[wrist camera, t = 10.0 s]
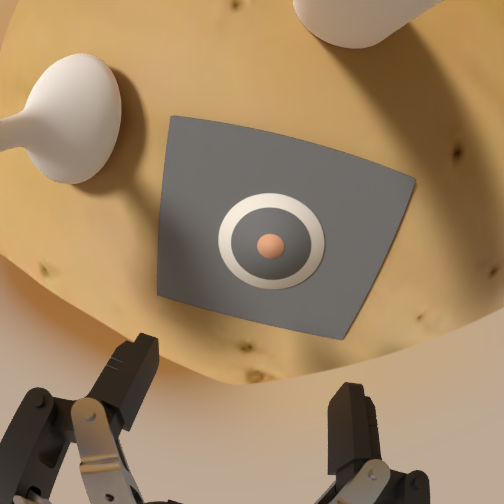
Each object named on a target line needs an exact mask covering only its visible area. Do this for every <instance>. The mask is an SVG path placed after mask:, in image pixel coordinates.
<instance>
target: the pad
mask: <svg viewBox="0 0 504 504" xmlns="http://www.w3.org/2000/svg"><path fill="white" fill-rule="evenodd" d="M415 182H416V179H415V178H413V177H410V176H408V175H406V174H403V173H401V172H398V171H395V170H393V169H390V168H388V167H385V166H382V165H380V164H377V163H374V162H371V161H368V160H366V159H363V158H360V157H357V156H354V155H351V154H348V153H345V152H341V151H338V150H335V149H332V148H328V147H325V146H322V145H318V144H315V143H311V142H307V141H304V140H300V139H296V138H292V137H288V136H284V135H280V134H276V133H272V132H267V131H263V130H258V129H253V128H248V127H243V126H238V125H233V124H227V123H222V122H216V121H209V120H203V119H196V118H189V117H181V116H171V118H170V125H169V131H168V139H167V146H166V154H165V162H164V172H163V181H162V192H161V204H160V219H159V236H158V263H157V295H159V296H162V297H165V298H169V299H172V300H175V301H179V302H182V303H185V304H189V305H192V306H196V307H200V308H203V309H207V310H211V311H214V312H218V313H222V314H226V315H229V316H233V317H237V318H241V319H245V320H249V321H253V322H258V323H262V324H266V325H270V326H275V327H279V328H284V329H288V330H293V331H298V332H302V333H307V334H312V335H317V336H322V337H327V338H333V339H338V340H342V339H343V337H344V336H345V334H346V332H347V330H348V329H349V327H350V325H351V323H352V321H353V320H354V318H355V316H356V314H357V312H358V311H359V309H360V307H361V305H362V303H363V301H364V299H365V297H366V295H367V293H368V292H369V290H370V288H371V286H372V284H373V282H374V280H375V278H376V275H377V273H378V271H379V269H380V267H381V265H382V263H383V261H384V259H385V256H386V254H387V252H388V250H389V247H390V245H391V243H392V241H393V238H394V236H395V234H396V231H397V229H398V226H399V224H400V222H401V219H402V217H403V214H404V212H405V209H406V206H407V204H408V201H409V198H410V196H411V193H412V190H413V187H414V185H415Z"/></svg>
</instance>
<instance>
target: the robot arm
mask: <svg viewBox="0 0 504 504" xmlns="http://www.w3.org/2000/svg"><path fill="white" fill-rule="evenodd" d="M158 365H159V343H158V338H155V337H152V336H150V335H147V334H144V333H140V334H139V335H138V337H137V338H136V340H135V342H134V343H132V342H129V341H125V342H124V343H122V344H121V345H120V346H118V347H117V348H116V350H115V351H114V353H113V355H112V356H111V359H109V361H108V363H107V365H106V366H105V368H104V369H103V371H102V373H101V374H100V376H99V378H98V379H97V381H96V383H95V384H94V386H93V388H92V389H91V391H90V392H89V394H88V395H87V396H86V397H84V398H81V399H79V400H74V401H72V400H66V399H61V398H56V397H52V395H51V394H50V393H49V392H48V391H47V390H46V389H44V388H39V387H37V388H33V389H31V390H29V391H28V392H27V394H26V395H25V397H24V399H23V401H22V402H21V404H20V406H19V408H18V410H17V411H16V413H15V415H14V417H13V419H12V421H11V423H10V425H9V426H8V429H7V430H6V432H5V435H4V436H3V439H2V441H1V443H0V504H52V503H51V502H50V501H49V497H50V493H51V491H52V488H53V485H54V483H55V480H56V477H57V475H58V472H59V469H60V467H61V464H62V462H63V459H64V457H65V454H66V452H67V449H68V447H69V445H70V442H73V443H77V446H78V450H79V453H80V457H81V463H80V472H81V476H82V479H83V482H84V485H85V488H86V492H87V494H88V497H89V500H90V503H91V504H181V503H178V502H175V501H172V500H168V502H160V501H158V502H148V503H145V502H144V500H143V498H142V495H141V493H140V491H139V489H138V486H137V484H136V482H135V480H134V478H133V476H132V474H131V472H130V469H129V466H128V464H127V461H126V458H125V455H124V453H123V450H122V447H121V444H120V440H119V435H120V432H121V430H122V429H124V430H126V431H130V429H131V427H132V424H133V422H134V420H135V417H136V415H137V413H138V411H139V409H140V406H141V404H142V402H143V399H144V397H145V395H146V393H147V391H148V389H149V387H150V385H151V382H152V380H153V378H154V376H155V374H156V371H157V369H158ZM328 475H336V481H334V483H332V485H331V486H330V487H329V488H328V489H327V491H325V493H324V494H323V495H322V496H321V497H320V498H319V499H318V500H317V501H316V502H315V503H314V504H430V487H429V479H428V476H427V475H426V474H425V473H424V472H423V471H419V470H416V471H412V472H411V473H409V474H406V473H402V472H398V471H394V470H391V469H389V467H388V465H387V464H386V463H385V462H384V461H382V458H381V453H380V443H379V434H378V427H377V419H376V410H375V406H374V404H373V402H372V400H371V398H370V397H366V396H365V395H364V388H363V385H362V384H356V383H348V382H345V383H344V384H343V385H342V386H341V388H340V389H339V390H338V391H337V393H336V394H335V395H334V397H333V398H332V399H331V401H330V403H329V406H328Z"/></svg>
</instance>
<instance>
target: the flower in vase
mask: <svg viewBox="0 0 504 504" xmlns="http://www.w3.org/2000/svg"><path fill="white" fill-rule="evenodd" d="M121 113H122V111H121V96H120V92H119V87H118V84H117V81H116V79H115V76H114V74H113V73H112V71H111V69H110V68H109V67H108V65H107V64H106V63H105V62H104V61H103V60H101V59H100V58H98V57H96V56H94V55H91V54H86V53H78V54H73V55H70V56H68V57H65V58H63V59H61V60H59V61H57V62H55V63H54V64H53V65H51V66H50V67H49V68H48V69H47V70H46V71H45V72H44V73H43V74H42V76H41V77H40V78H39V80H38V81H37V83H36V84H35V85H34V87H33V89H32V91H31V93H30V95H29V97H28V100H27V102H26V105H25V108H24V110H22V111H21V112H20V113H18V114H16V115H13V116H10V117H6V118H2V119H0V152H2V151H4V150H7V149H11V148H14V147H24V148H26V151H27V153H28V155H29V156H30V158H31V160H32V162H33V163H34V164H35V166H36V167H37V168H38V169H39V170H40V171H41V172H42V173H43V174H44V175H45V176H47V177H48V178H49V179H51V180H53V181H55V182H59V183H65V184H77V183H81V182H84V181H86V180H88V179H90V178H91V177H93V176H94V175H95V174H96V173H98V172H99V171H100V170H101V168H102V167H103V166H104V165H105V163H106V162H107V160H108V159H109V157H110V155H111V153H112V151H113V148H114V146H115V143H116V140H117V137H118V133H119V129H120V123H121Z"/></svg>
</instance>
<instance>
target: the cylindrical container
mask: <svg viewBox="0 0 504 504" xmlns="http://www.w3.org/2000/svg"><path fill="white" fill-rule="evenodd" d="M442 1H443V0H293V6H294V9H295V12H296V15H297V17H298V18H299V20H300V22H301V23H302V24H303V25H304V26H305V27H306V29H307V30H309V31H310V32H311V33H312V34H314V35H315V36H316V37H318V38H320V39H321V40H323V41H325V42H327V43H330V44H332V45H335V46H339V47H343V48H351V49H359V48H366V47H371V46H373V45H376V44H378V43H380V42H381V41H383V40H384V39H385V38H387V37H388V36H390V35H391V34H392V33H394V32H395V31H397V30H398V29H400V28H401V27H403V26H404V25H406V24H407V23H409V22H410V21H412V20H413V19H415V18H416V17H418V16H419V15H421V14H422V13H424V12H425V11H427V10H429V9H430V8H432V7H433V6H435V5H437V4H438V3H440V2H442Z"/></svg>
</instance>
